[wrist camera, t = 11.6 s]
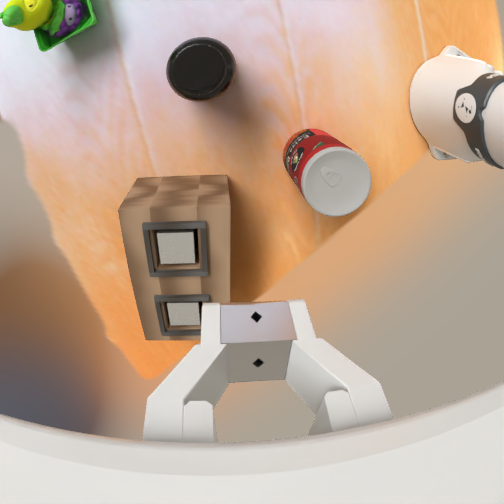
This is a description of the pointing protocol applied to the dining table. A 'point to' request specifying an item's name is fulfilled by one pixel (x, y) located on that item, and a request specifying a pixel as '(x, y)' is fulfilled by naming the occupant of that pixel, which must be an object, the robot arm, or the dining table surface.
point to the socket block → (182, 274)
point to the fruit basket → (49, 19)
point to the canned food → (327, 172)
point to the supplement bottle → (201, 69)
